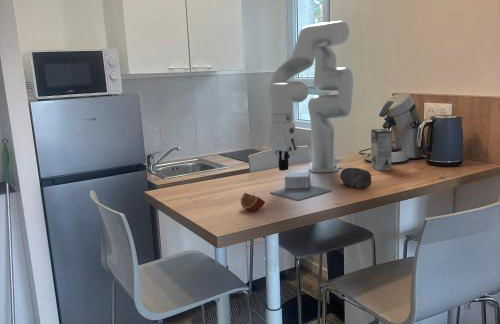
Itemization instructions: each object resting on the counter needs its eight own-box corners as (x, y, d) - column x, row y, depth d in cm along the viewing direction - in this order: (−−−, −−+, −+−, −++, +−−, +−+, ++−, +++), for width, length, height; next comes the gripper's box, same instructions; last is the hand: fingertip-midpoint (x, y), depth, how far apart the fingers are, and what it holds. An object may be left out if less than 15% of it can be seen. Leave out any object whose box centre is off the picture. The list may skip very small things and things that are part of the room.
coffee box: (370, 166, 186) (370, 129, 183) (385, 165, 186) (385, 128, 183) (376, 170, 177) (376, 131, 174) (392, 169, 177) (392, 130, 174)
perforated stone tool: (335, 183, 160) (335, 165, 159) (347, 181, 162) (347, 163, 161) (360, 192, 146) (360, 172, 145) (373, 190, 148) (373, 170, 147)
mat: (302, 184, 160) (302, 183, 160) (331, 191, 149) (331, 190, 149) (270, 193, 150) (270, 192, 150) (298, 201, 140) (298, 199, 139)
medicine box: (284, 189, 154) (309, 188, 152) (284, 176, 153) (309, 176, 151) (287, 184, 161) (310, 183, 160) (286, 172, 160) (310, 172, 159)
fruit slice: (236, 209, 134) (236, 193, 134) (255, 205, 138) (254, 190, 137) (250, 215, 127) (250, 199, 126) (269, 211, 131) (269, 195, 130)
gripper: (304, 118, 148) (306, 170, 151) (275, 117, 160) (277, 165, 163) (288, 120, 143) (290, 174, 147) (260, 118, 155) (262, 168, 158)
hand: (283, 169), depth 155 cm, fingers closed
